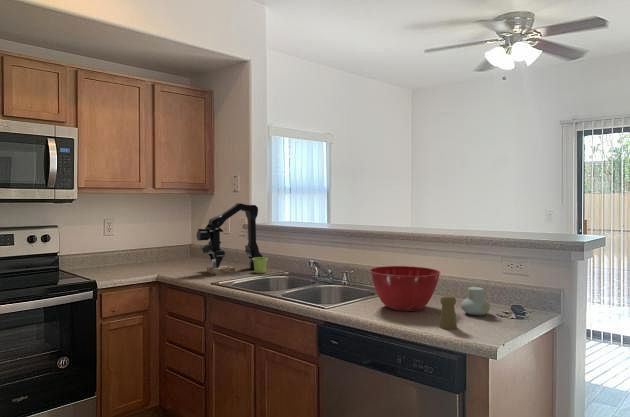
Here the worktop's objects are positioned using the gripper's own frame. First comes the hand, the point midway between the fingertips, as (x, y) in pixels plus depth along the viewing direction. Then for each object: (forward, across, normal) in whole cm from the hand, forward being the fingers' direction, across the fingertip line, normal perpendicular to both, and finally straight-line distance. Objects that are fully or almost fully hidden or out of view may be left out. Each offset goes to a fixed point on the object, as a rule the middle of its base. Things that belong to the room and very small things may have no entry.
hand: (215, 266), depth 287 cm
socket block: (+4, 0, +4) cm, 5 cm away
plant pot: (+4, +12, +24) cm, 27 cm away
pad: (+4, +10, +10) cm, 15 cm away
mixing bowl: (+4, +121, +42) cm, 128 cm away
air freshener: (+4, +143, +60) cm, 155 cm away
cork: (+4, +152, +37) cm, 156 cm away
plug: (+4, 0, 0) cm, 4 cm away
